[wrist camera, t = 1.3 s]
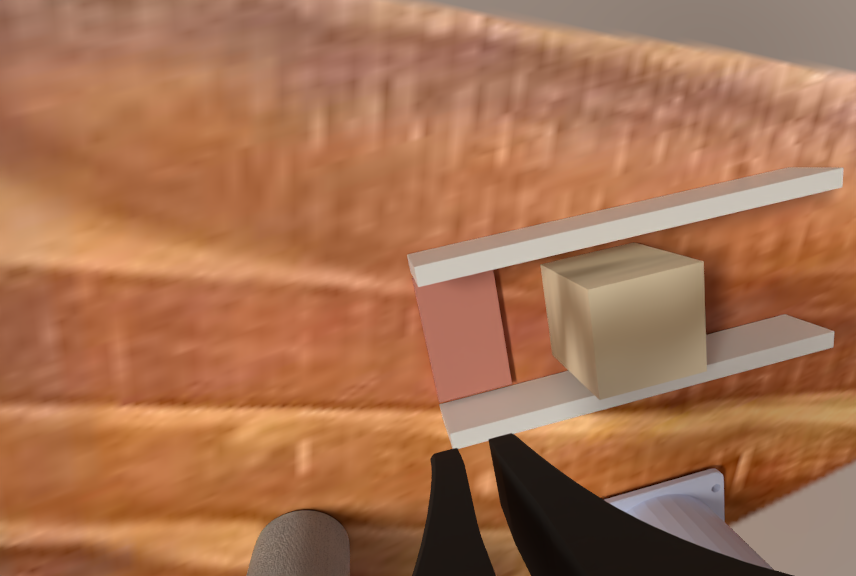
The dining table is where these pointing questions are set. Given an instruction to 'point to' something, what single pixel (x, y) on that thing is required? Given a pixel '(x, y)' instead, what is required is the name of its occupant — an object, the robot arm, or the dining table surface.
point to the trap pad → (464, 335)
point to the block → (626, 317)
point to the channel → (564, 391)
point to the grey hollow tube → (301, 547)
